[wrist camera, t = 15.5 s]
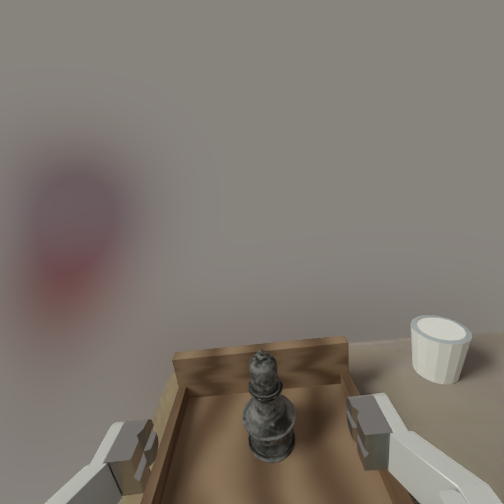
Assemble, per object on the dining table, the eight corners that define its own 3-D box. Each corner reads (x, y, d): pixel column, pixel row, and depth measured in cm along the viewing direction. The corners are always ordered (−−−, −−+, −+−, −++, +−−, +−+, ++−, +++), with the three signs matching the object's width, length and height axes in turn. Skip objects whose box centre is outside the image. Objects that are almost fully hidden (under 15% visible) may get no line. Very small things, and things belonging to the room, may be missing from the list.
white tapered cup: (450, 354, 40) (456, 314, 38) (476, 390, 33) (485, 345, 31) (401, 351, 41) (404, 313, 39) (417, 385, 35) (421, 342, 33)
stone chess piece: (253, 410, 33) (242, 329, 29) (300, 418, 31) (294, 333, 27) (238, 459, 27) (221, 366, 24) (294, 472, 25) (285, 374, 22)
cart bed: (344, 383, 37) (344, 335, 34) (457, 634, 17) (475, 562, 14) (186, 398, 37) (175, 352, 35) (113, 658, 17) (75, 592, 15)
